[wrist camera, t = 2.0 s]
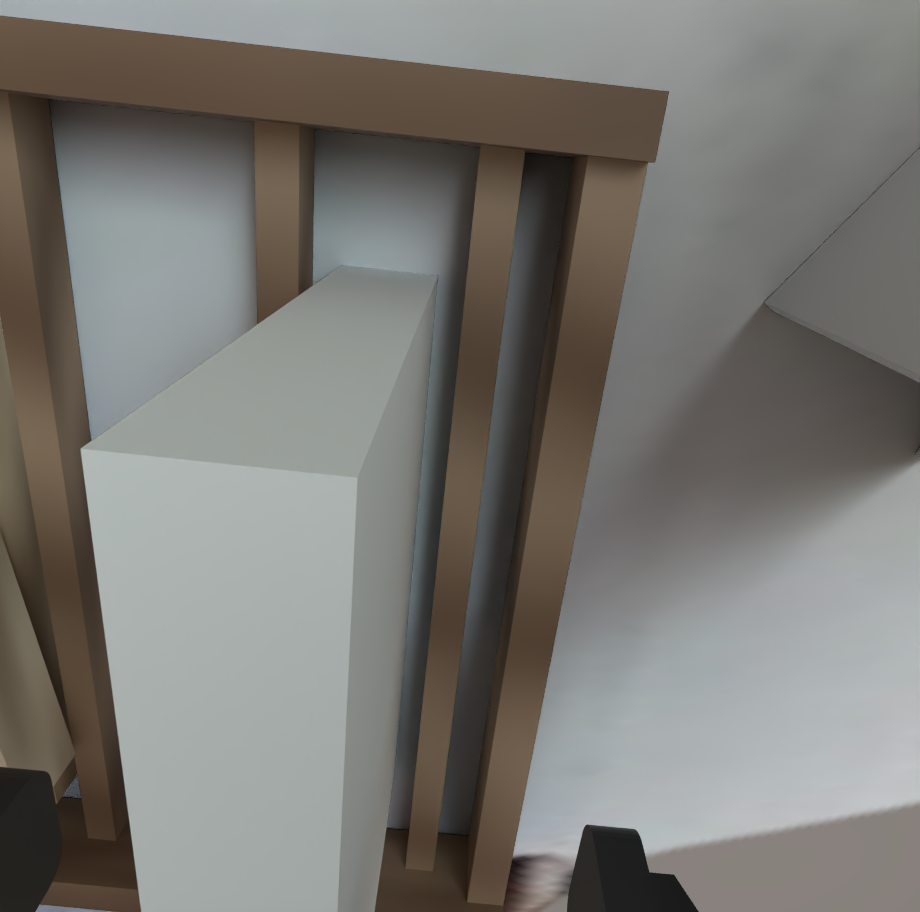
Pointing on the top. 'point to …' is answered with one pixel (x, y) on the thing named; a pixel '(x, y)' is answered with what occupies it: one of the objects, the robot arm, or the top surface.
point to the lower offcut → (26, 544)
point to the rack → (278, 282)
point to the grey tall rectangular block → (867, 278)
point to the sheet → (267, 599)
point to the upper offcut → (26, 690)
